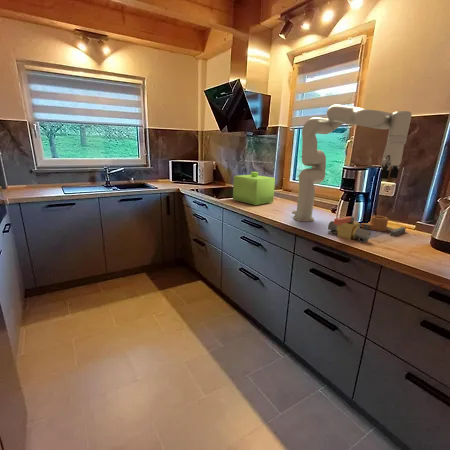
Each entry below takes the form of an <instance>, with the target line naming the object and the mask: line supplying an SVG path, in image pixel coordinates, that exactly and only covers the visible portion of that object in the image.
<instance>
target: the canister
mask: <svg viewBox="0 0 450 450" xmlns="http://www.w3.org/2000/svg"><path fill="white" fill-rule="evenodd" d="M232 183H233V184H232V185H233V188H232V189H233V191H232V200H233V201H237V202H241V203H242V202H243V203H245V204H249V205H250V204H251V205H252V206H253V205H254V206H258V205H264V204H269V203H273V202H274V197H275V196H274V195H275V185H276V178H275V177H272V176H265V175H259V172H257V171H250V174H242V175H234V176H233V182H232Z"/></svg>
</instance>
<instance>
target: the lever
mask: <svg viewBox="0 0 450 450" xmlns="http://www.w3.org/2000/svg"><path fill="white" fill-rule="evenodd" d="M354 220H355V217H354V216H347V215H346V216H344V217H340V218H339V217H336V218H334V220H333V221H334V224H335V225H342V224H343V223H347V222H354Z"/></svg>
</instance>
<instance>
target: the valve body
mask: <svg viewBox="0 0 450 450" xmlns="http://www.w3.org/2000/svg"><path fill="white" fill-rule="evenodd" d="M359 226H360V223H359V222H355V221H354V222H347V223H343V224H342V225H335V224H334V220H331V221H329V223H328V225H327V227H328V234H330V235H334V234H337V237H339V238H342V239H346V240H349V241H351V240H357V242H358V243H360V244H364V243H366V242H368V241H369V240H370V238H371V236H372V235H371V233H372V232H371V230H369V229H364V228H360V227H359Z"/></svg>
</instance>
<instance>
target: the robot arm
mask: <svg viewBox="0 0 450 450" xmlns="http://www.w3.org/2000/svg"><path fill="white" fill-rule="evenodd" d="M412 116H413V115H412V112H411V111H409V110H401V111H400V110H398V111H397V110H396V111H394V112H388V111H382V110H376V109H368V108H362V107H359V106H352V105H344V104H343V105H342V104H333V105H331V106H330V107H328V109H327V110H326V117H327V118H323V117H316V116H315V117H311V118H309V119H308V120H307V121H305V123H304V124H303V126H302V130H301V141H302V142H301V143H302V144H301V163H302V164H303V165H304V166H305V167H309V168H305V169H302V170H301V171H300V172H299V175H298V195H297V196H298V197H297V202H296V203H297V204H296V210H292V212H291V214H293V216H292V217H293V220H294V221H298V222H302V223H303V222H304V223H306V222H307V223H311V222H314V221H315V218H314V217H313V210H314V202H315V193H316V190H315V189H316V188H315V185H316V184H321V183H322V182H323V181H324V180H325V177H326V167H327V166H326V165H327V157H326V154H325V152H324V151H322V150H320V149H318V139H317V136H316V135H317V134H318V135H327V134H330V133H332V132H333V131H336V129H338V128H339V127H341V126H342V125H344V124H346V125H350V126H358V127H359V126H360V127H365V128H366V127H367V128H369V129H371V128H372V129H376V130H377V129H378V130H388V134H387V140H386V144H385V147H384V150H383V151H384V152H383V155H382V159H381V174H380V179H383V180H389V178H393V179H397V178H398V175H399V171H400V168H401V163H402V161H403V160H402V159H403V154H404V147H405V145H406V143H407V139H408V138H407V137H408V134H409V130H410V126H411V125H410V124H411V121H412ZM390 168H391V169H390Z"/></svg>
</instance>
